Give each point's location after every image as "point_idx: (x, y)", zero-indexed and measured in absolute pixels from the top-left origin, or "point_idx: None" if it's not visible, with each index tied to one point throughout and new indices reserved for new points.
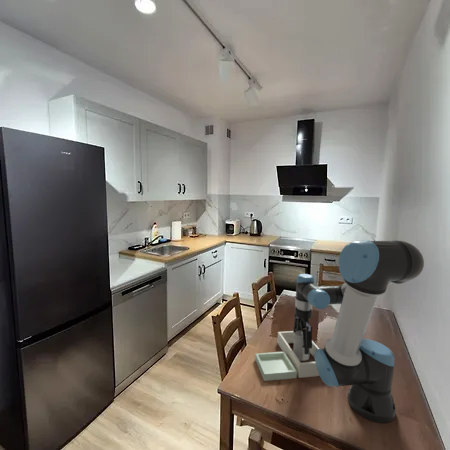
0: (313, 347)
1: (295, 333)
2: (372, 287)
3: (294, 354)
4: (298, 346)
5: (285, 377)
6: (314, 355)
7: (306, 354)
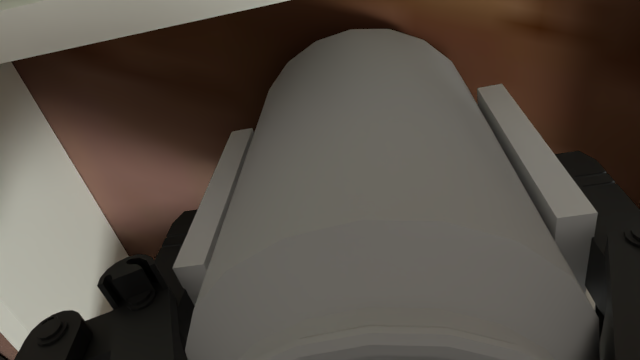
0: None
1: (550, 290)
2: None
3: (38, 40)
4: (248, 179)
5: None
6: None
7: None
